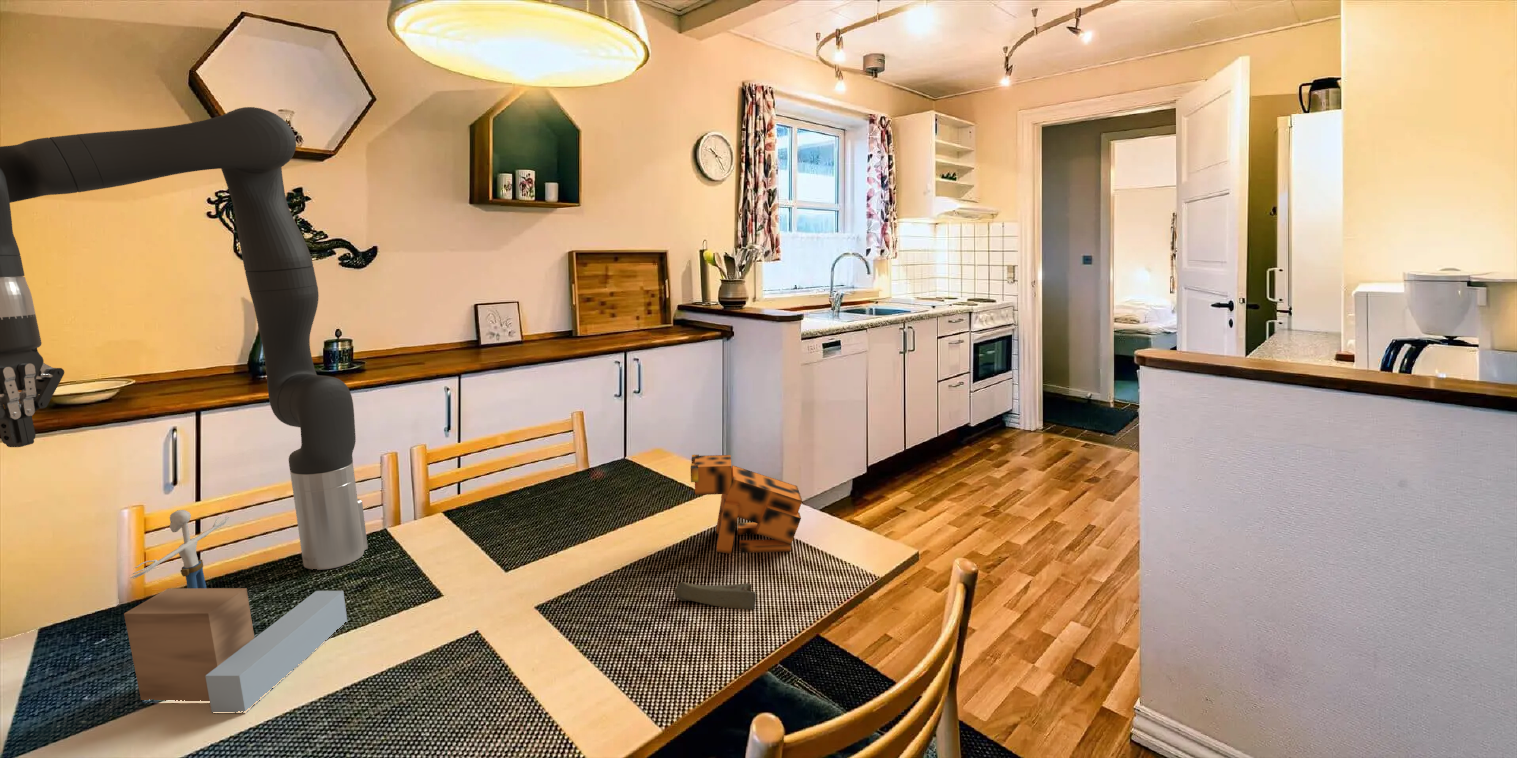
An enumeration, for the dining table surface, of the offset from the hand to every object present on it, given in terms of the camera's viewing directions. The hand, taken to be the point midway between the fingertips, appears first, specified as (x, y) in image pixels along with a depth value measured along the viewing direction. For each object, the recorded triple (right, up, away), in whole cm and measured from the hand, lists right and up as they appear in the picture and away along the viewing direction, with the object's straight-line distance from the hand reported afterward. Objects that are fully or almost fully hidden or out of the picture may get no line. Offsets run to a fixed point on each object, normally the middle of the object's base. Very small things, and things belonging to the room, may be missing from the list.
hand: (20, 445), depth 88 cm
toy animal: (+95, -22, +38) cm, 104 cm away
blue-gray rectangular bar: (+34, -29, +1) cm, 45 cm away
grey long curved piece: (+90, -27, +16) cm, 95 cm away
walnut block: (+27, -30, -4) cm, 41 cm away
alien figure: (+17, -28, +7) cm, 34 cm away
